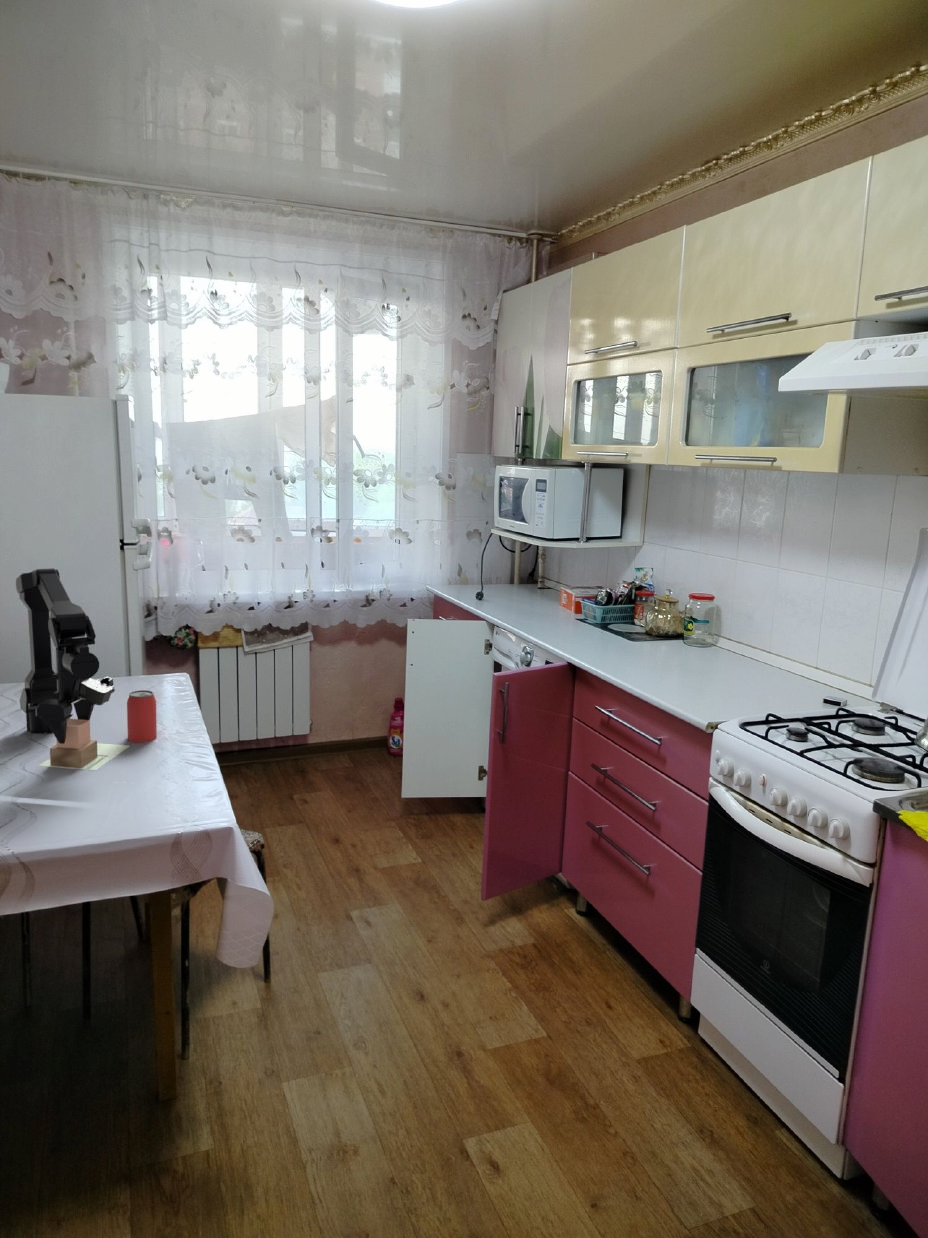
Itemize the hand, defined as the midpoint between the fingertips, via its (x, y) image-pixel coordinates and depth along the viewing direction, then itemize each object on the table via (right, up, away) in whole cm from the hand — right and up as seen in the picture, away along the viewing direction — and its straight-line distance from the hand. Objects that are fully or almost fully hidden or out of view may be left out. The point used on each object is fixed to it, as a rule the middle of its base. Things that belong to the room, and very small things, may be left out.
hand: (73, 736), depth 187 cm
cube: (0, -2, 0) cm, 2 cm away
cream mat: (+1, -6, +5) cm, 8 cm away
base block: (0, -6, +1) cm, 6 cm away
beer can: (+8, -4, +18) cm, 21 cm away
